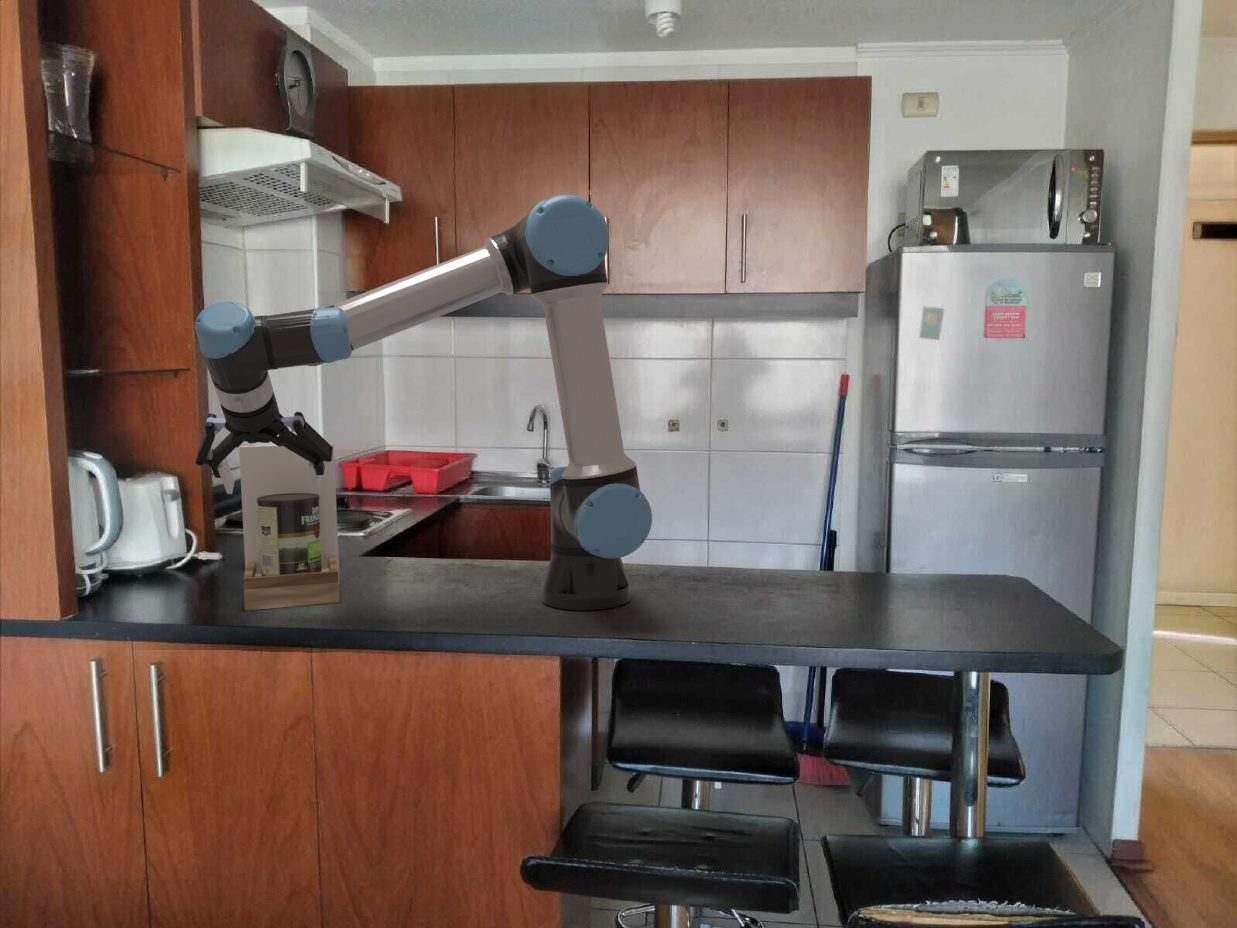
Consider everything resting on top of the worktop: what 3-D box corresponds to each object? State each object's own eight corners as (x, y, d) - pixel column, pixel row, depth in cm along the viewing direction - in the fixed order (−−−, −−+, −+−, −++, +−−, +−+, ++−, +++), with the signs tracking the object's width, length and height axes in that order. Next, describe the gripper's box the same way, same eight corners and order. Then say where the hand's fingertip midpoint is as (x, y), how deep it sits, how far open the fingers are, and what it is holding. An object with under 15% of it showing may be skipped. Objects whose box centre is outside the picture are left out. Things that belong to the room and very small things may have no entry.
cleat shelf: (339, 602, 159) (338, 571, 158) (244, 610, 154) (243, 578, 153) (336, 584, 172) (335, 556, 171) (249, 591, 167) (248, 562, 166)
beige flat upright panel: (339, 584, 172) (333, 444, 169) (246, 591, 167) (239, 447, 164) (339, 581, 174) (333, 443, 171) (247, 589, 169) (239, 446, 166)
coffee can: (332, 569, 168) (329, 492, 166) (306, 583, 158) (302, 500, 156) (278, 568, 169) (274, 492, 168) (249, 581, 159) (245, 500, 158)
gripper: (150, 417, 131) (189, 507, 147) (333, 413, 134) (352, 502, 151) (160, 378, 135) (197, 470, 152) (337, 376, 139) (355, 466, 155)
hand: (274, 486), depth 151 cm, fingers open, 13 cm apart
